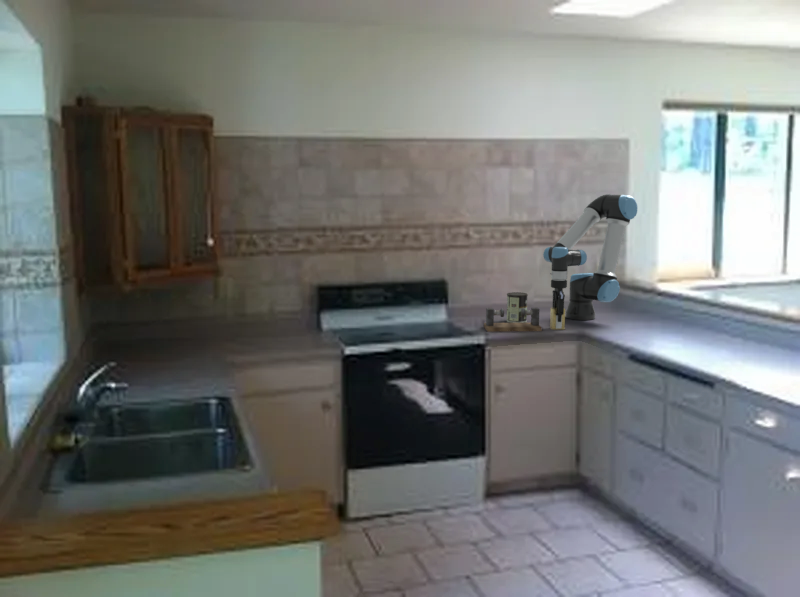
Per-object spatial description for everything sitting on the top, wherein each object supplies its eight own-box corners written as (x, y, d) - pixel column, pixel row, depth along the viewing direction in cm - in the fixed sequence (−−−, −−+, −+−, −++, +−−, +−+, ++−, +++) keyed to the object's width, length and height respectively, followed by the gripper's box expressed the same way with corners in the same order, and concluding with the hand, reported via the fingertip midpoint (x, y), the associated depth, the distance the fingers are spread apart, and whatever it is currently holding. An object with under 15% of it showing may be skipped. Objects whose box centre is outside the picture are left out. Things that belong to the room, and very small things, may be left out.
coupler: (562, 327, 389) (562, 307, 387) (564, 329, 385) (565, 309, 383) (549, 327, 389) (550, 307, 387) (552, 329, 384) (552, 309, 383)
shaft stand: (536, 326, 392) (536, 306, 390) (541, 331, 381) (542, 310, 379) (483, 326, 390) (484, 306, 388) (487, 331, 379) (487, 310, 377)
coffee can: (525, 319, 409) (526, 292, 407) (528, 323, 399) (528, 295, 397) (505, 319, 410) (505, 292, 407) (507, 323, 399) (508, 295, 397)
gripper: (546, 276, 391) (545, 323, 395) (555, 282, 374) (554, 331, 378) (562, 276, 391) (560, 323, 395) (571, 282, 374) (569, 330, 378)
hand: (557, 327), depth 387 cm, fingers closed on coupler, 4 cm apart
